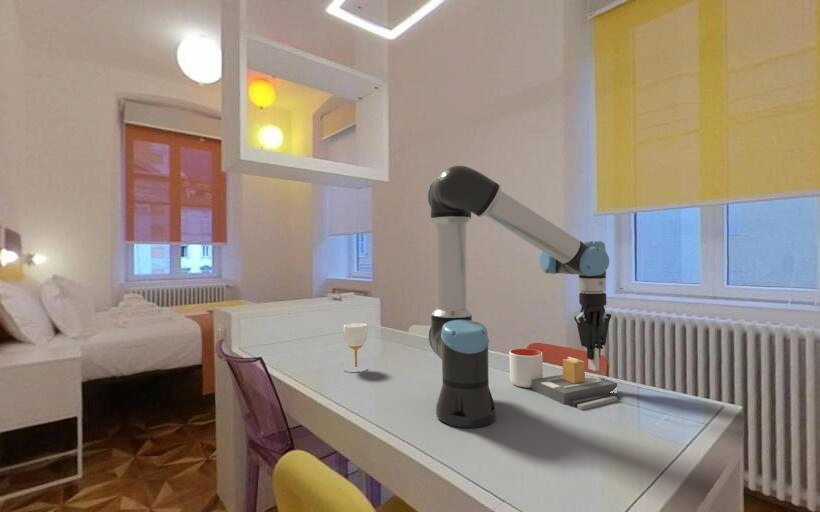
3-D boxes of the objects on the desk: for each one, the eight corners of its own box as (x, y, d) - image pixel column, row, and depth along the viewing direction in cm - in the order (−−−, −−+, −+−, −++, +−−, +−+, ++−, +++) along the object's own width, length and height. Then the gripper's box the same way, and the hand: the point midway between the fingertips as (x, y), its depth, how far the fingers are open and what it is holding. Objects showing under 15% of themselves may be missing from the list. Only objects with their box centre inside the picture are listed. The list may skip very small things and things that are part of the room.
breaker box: (564, 404, 108) (563, 392, 108) (532, 389, 120) (531, 378, 120) (617, 393, 115) (617, 382, 115) (582, 380, 127) (582, 370, 127)
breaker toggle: (574, 383, 115) (573, 360, 115) (563, 379, 119) (562, 357, 119) (584, 381, 116) (584, 359, 116) (573, 377, 120) (572, 355, 120)
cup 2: (371, 370, 142) (370, 326, 142) (346, 374, 138) (345, 328, 138) (364, 364, 150) (364, 322, 150) (341, 367, 147) (340, 324, 147)
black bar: (574, 407, 105) (574, 402, 105) (570, 405, 107) (570, 401, 107) (618, 398, 112) (618, 393, 112) (613, 396, 113) (613, 392, 113)
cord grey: (581, 410, 104) (580, 406, 104) (577, 408, 105) (577, 404, 105) (617, 400, 110) (617, 397, 110) (613, 399, 111) (613, 395, 111)
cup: (544, 389, 119) (544, 356, 119) (510, 388, 121) (510, 355, 121) (540, 379, 129) (540, 348, 129) (509, 378, 131) (508, 347, 131)
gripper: (586, 294, 114) (587, 375, 115) (618, 291, 119) (620, 370, 120) (566, 292, 121) (568, 369, 121) (598, 290, 126) (599, 364, 126)
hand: (593, 369), depth 121 cm, fingers closed
